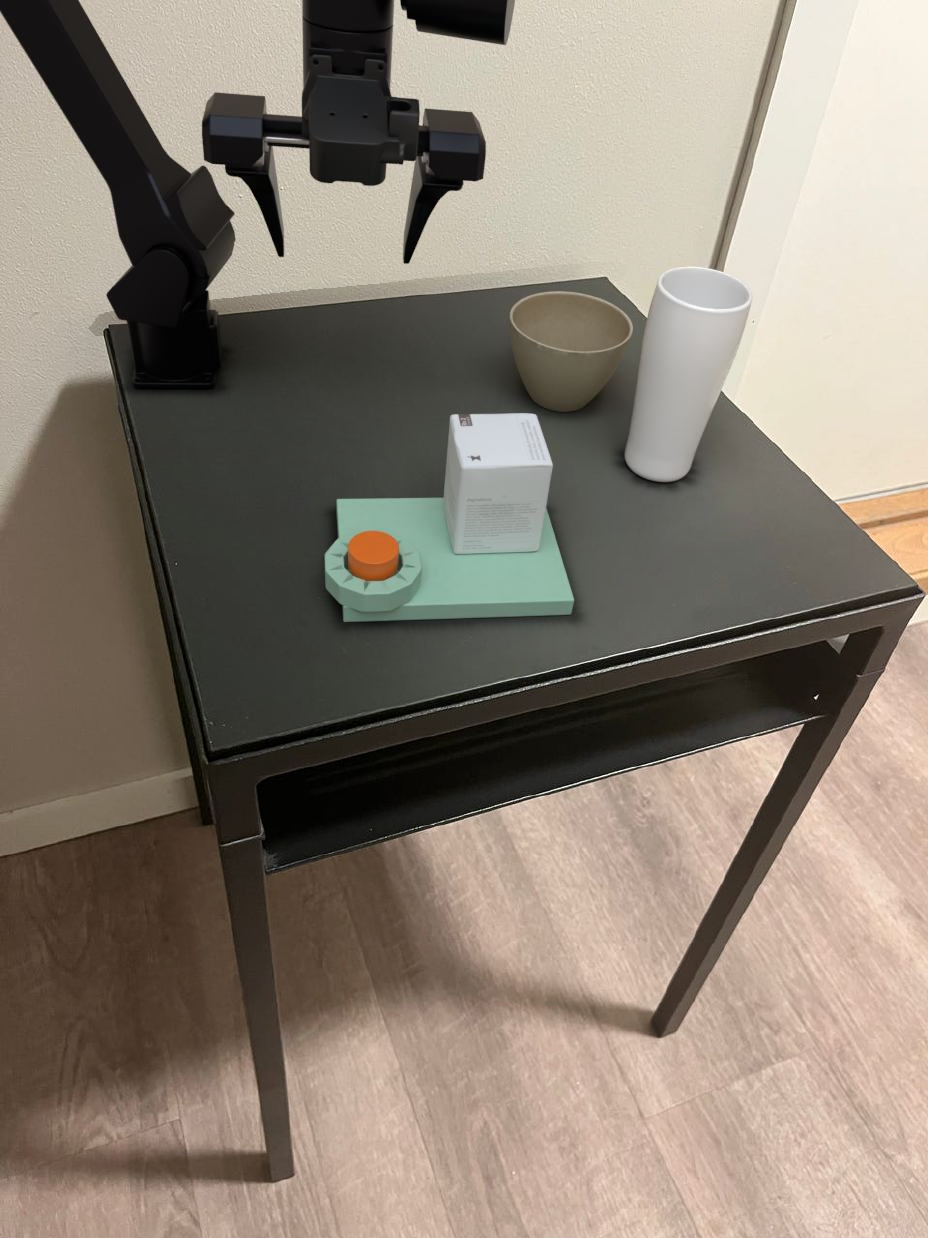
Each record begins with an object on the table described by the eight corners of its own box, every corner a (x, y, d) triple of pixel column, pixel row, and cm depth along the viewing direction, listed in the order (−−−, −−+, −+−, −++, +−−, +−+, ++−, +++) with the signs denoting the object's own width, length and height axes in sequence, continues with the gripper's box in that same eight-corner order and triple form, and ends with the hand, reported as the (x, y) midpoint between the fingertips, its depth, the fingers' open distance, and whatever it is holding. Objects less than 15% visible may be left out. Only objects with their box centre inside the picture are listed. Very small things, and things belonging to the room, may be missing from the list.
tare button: (349, 582, 61) (349, 564, 59) (346, 549, 63) (346, 530, 62) (400, 581, 61) (401, 563, 60) (395, 548, 63) (396, 529, 62)
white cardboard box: (539, 553, 66) (556, 465, 61) (451, 556, 65) (461, 466, 60) (523, 498, 70) (537, 411, 65) (440, 500, 69) (448, 411, 64)
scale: (327, 629, 61) (326, 595, 59) (321, 514, 69) (321, 480, 67) (573, 621, 64) (581, 588, 62) (540, 510, 72) (546, 478, 70)
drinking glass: (697, 498, 74) (755, 318, 64) (610, 481, 75) (653, 300, 64) (699, 449, 79) (754, 274, 69) (617, 434, 80) (659, 258, 69)
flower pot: (527, 354, 88) (538, 279, 83) (631, 387, 85) (649, 312, 80) (480, 405, 81) (489, 326, 76) (591, 443, 79) (608, 364, 74)
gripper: (182, 44, 54) (206, 304, 65) (510, 71, 57) (480, 317, 68) (200, -8, 62) (218, 233, 73) (487, 18, 65) (463, 246, 76)
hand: (344, 258), depth 72 cm, fingers open, 9 cm apart
